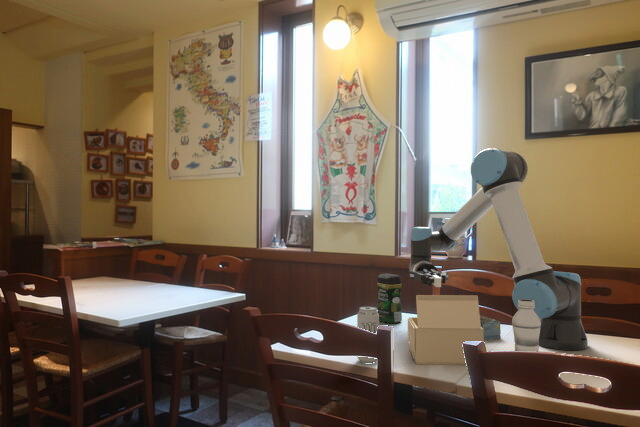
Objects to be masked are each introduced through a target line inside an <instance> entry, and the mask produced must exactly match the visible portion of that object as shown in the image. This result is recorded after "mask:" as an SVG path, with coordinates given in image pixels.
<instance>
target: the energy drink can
mask: <svg viewBox="0 0 640 427" xmlns="http://www.w3.org/2000/svg"><path fill="white" fill-rule="evenodd" d="M358 309H359V311H358V312H357V315H356V316H357V317H356V318H357V326H356V327H359V328H362V329H365V330H368V331H370V332H373V333H376V331H377V327H378V326H379V327H380V320H379V314H378V312H377V311H378V307H374V306H360V307H359V308H358ZM357 360H358V361H360V362H362V363H373V362H376V361H377V362H378V360H377V359H374V358H368V357H358V356H357ZM360 362H359V363H360ZM362 363H361V364H362Z"/></svg>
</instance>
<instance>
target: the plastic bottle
mask: <svg viewBox="0 0 640 427" xmlns="http://www.w3.org/2000/svg"><path fill="white" fill-rule="evenodd" d="M518 308H519V310H518V309H517V311H516V312H515V314H514V315H513V317H512V319H511V324H512V331H513V338H514V352H515V351H536V352H539V353H540V351H539V349H540V348H539V346H540V345H539V335H540V327H541V322H540V318H539V317H538V316H537V314H536V313H535V312H534V308H535V301H534V300H530V299H519V300H518Z"/></svg>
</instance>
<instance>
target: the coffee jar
mask: <svg viewBox="0 0 640 427" xmlns="http://www.w3.org/2000/svg"><path fill="white" fill-rule="evenodd" d="M376 284H377V292H378V293H377V312H378V314H379V322H383V323H385V322H387V323H386V324H398V323H401V322H402V321H403V320H402V319H403V318H402V317H403V315H402V301H401V298H402V296H401V295H402V294H401V293H402V285H403V284H402V277H401V276H400V275H398V274H394V273H393V274H392V273H386V272H385V273H380V274H379V275H378V276H377V282H376Z"/></svg>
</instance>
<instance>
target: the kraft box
mask: <svg viewBox="0 0 640 427" xmlns="http://www.w3.org/2000/svg"><path fill="white" fill-rule="evenodd" d="M407 341H408V350H409V353H410V355H411V357H412V359H413V361H414V363H415V365H419V366H420V365H429V366H430V365H431V366H435V365H436V366H440V365H441V366H467V365H466V363H465V358H464V353H463V347H462V344H463V342H465V341H483V342H484V340H483V328H482V327H481V329H472V328H418V322H417V317H408V318H407Z"/></svg>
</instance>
